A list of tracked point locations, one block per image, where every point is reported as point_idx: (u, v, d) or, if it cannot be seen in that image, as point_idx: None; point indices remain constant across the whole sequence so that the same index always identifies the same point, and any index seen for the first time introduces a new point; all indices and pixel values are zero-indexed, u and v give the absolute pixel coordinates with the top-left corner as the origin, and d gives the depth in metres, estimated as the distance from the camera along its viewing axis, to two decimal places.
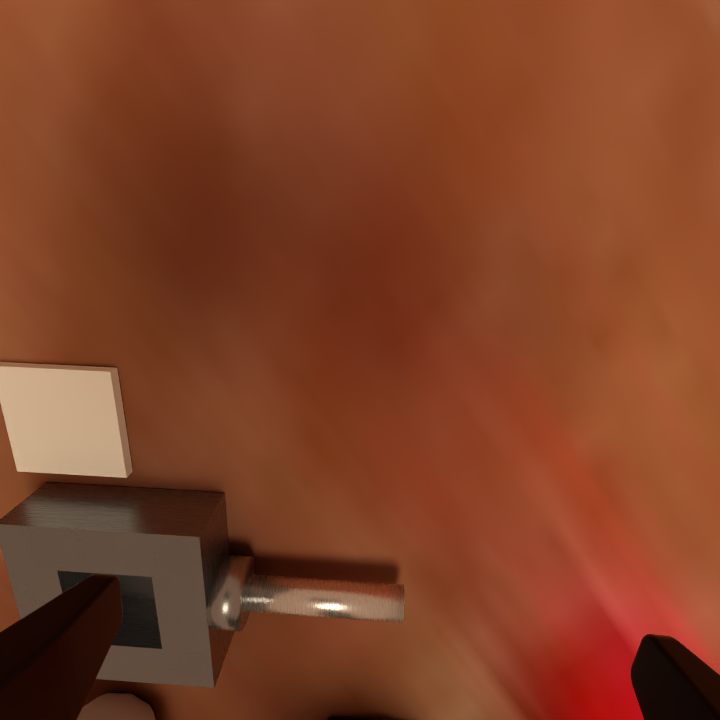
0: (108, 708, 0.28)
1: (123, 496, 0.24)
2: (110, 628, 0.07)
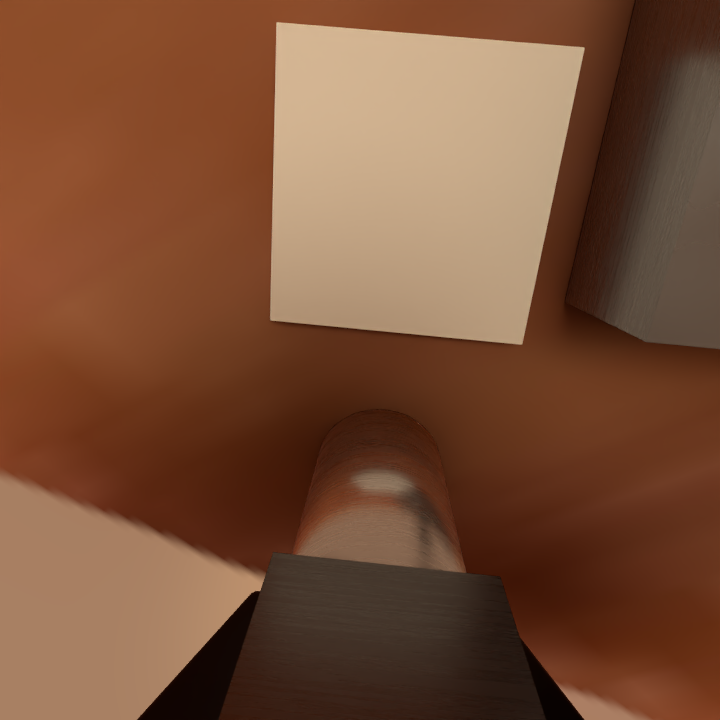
0: None
1: (641, 58, 0.08)
2: None
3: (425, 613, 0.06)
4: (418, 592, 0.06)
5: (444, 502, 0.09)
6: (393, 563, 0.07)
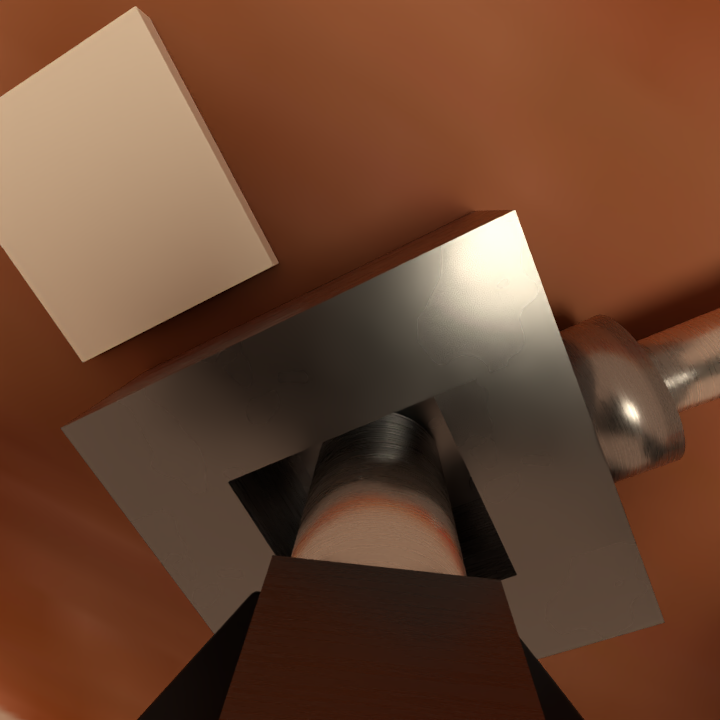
0: None
1: (284, 306, 0.11)
2: None
3: (425, 617, 0.06)
4: (418, 596, 0.06)
5: (444, 504, 0.09)
6: (394, 566, 0.07)
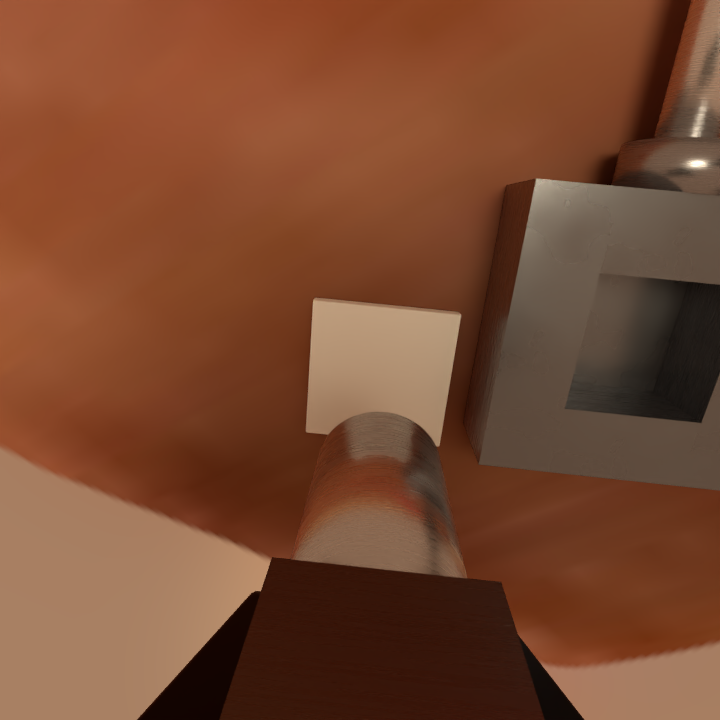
0: None
1: (486, 323, 0.18)
2: None
3: (425, 619, 0.06)
4: (418, 598, 0.06)
5: (444, 506, 0.09)
6: (394, 568, 0.07)
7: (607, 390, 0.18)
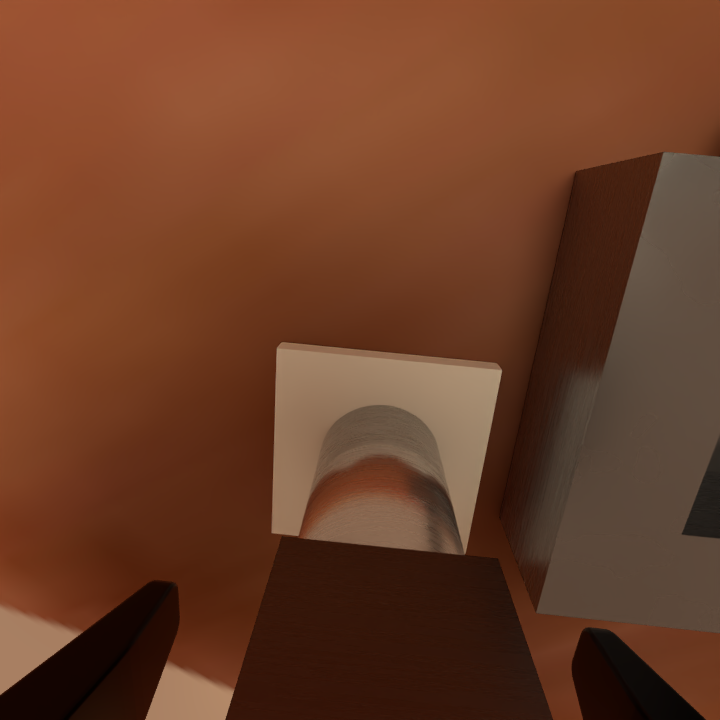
0: None
1: (541, 383, 0.11)
2: (169, 635, 0.07)
3: (427, 591, 0.06)
4: (420, 572, 0.07)
5: (444, 492, 0.10)
6: (397, 546, 0.07)
7: None
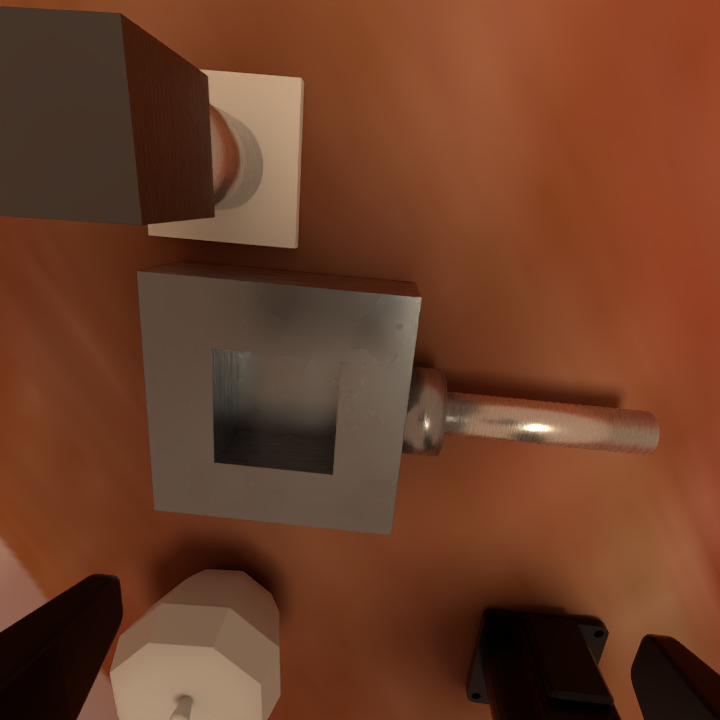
0: (224, 578, 0.22)
1: (288, 273, 0.18)
2: (110, 628, 0.07)
3: (201, 169, 0.11)
4: (206, 167, 0.11)
5: (223, 200, 0.15)
6: (212, 155, 0.12)
7: (233, 390, 0.19)
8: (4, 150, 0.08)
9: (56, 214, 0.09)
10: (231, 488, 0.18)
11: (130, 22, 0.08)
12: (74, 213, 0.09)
